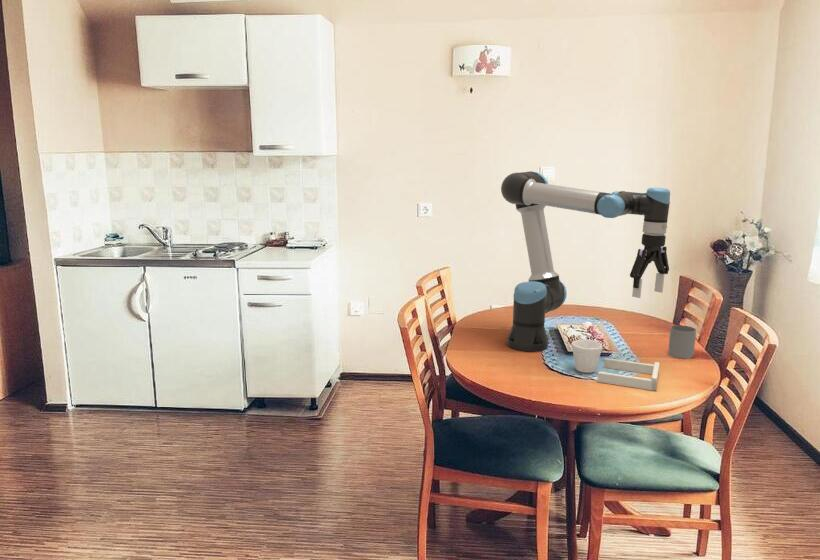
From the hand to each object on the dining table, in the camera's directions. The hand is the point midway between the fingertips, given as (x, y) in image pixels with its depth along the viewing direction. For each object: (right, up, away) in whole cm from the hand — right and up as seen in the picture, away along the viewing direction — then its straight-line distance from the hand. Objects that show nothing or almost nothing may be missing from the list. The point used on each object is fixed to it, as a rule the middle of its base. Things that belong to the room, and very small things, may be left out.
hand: (647, 294), depth 223 cm
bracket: (-11, -27, -14) cm, 32 cm away
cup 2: (+15, -22, +9) cm, 28 cm away
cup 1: (-24, -26, -7) cm, 36 cm away
